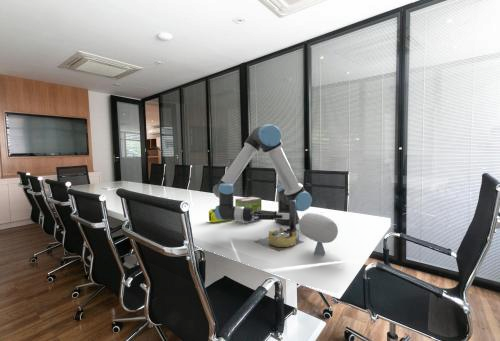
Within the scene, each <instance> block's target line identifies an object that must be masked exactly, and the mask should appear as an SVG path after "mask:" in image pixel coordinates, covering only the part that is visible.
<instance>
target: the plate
mask: <svg viewBox="0 0 500 341" xmlns="http://www.w3.org/2000/svg"><path fill="white" fill-rule="evenodd" d="M294 231H295V235H296V244H295V245H292V246H290V247H276V246H274V245H271V244H269V236H267V237H263V238H261V239H257V240H254V241H253V242H255V243H257V244H259V245H262V246H265V247H266V248H269V249H271V250H274V251H277V252H281V251H283V250H286V249H289V248H292V247H294V246H297V245H301V244H303V243H304V241H303V240H301V239H300V230H299V229H297V230H294ZM280 235H284V236H285V237H289V236H290V233H289V232H286V231H277V232H275V233H274V236H276V237H280Z"/></svg>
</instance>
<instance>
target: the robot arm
mask: <svg viewBox="0 0 500 341" xmlns="http://www.w3.org/2000/svg"><path fill="white" fill-rule="evenodd" d="M282 145H283V142H282V132H281V130H280V128H279V127H277V126H276V125H274V124H265V125H261V126H258V127H255V128H254V129H253V130H252V131H251V133H250V134H249V136H248V137H247V138H246V140H245V141H244V146H243V147H242V149H241V150H240V151H239V153H238V155H237V156H236V158H235V159H234V160H233V162H232V163H231V165H230V166H229V168H228V169H227V171H225V173H224V175H223V176H222V177H221V179H220V180H219V182H218V184H215V185H214V186H213V187H212V188H213V189H212V193H213V194H214V196H215V197H217V199H219V204H218V205H216V206H215V208H214V209H215V217H216V219H219V220H226V221H227V220H230V221H235V222H238V223H241V222H240V221H243V220H244V221H248V223H251V222H250V221H251V220H252V218H254V220H257V221H261V220H262V221H264V220H265V221H275V223H276V224H280V225H285V226H290V200H296V225H297V224H298V225H299V223H298V220H300V217H299V213H298V212H304V211H305V212H306V211H307V210H308V209H309V208H310V207H311V206H312V203H313V197H312V195H311V194H310V193H309V192H308V191H307V190H305V188H304V185H303V184H302V183H299V181H298V179H297V177H296V175H295V172H294V171H293V169H292V167H291V165H290V163H289V161H288V159H287V157H286V154H285V152H284V150H283V148H282ZM260 149H261V150H262V152H263V154H266V155H267V156H268V158H269V160H270V163H271V164H272V166H273V168H274V170H275V172H276V174H277V177H278V178H279V181H280V182H281V184H282V186H280V187H278V190H277V194H278V196H277V200H278V201H277V204H278V210H273V211H272V210H263V209H261V210H255V211H253V210H252V208H251V207H241V206H235V205H234V191H235V190H234V184H235V182H236V181H237V180H238V178H239V177H240V175H241V174H242V172H243V171H244V169H245V168H246V167H247V166H248V164H249V162H250V161H251V160H252V158H253V156H254V155H255V154H257V153H259V151H260Z"/></svg>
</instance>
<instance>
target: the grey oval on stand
mask: <svg viewBox="0 0 500 341" xmlns="http://www.w3.org/2000/svg"><path fill="white" fill-rule="evenodd" d="M298 228H299V229H298V230H299V233H301V235H303V236H304V237H306V238H308V239H310V240H312V241H314V242H316V245H315V248H314V251H313V254H314V255H317V256H325V255H326V251H325V247H324V245H323V244H327V243H332V242H333V241H335V240H336V238H337V236H338V233H339V229H338V225H337V223H335V221H334V220H332V218H329V217H327V216H325V215H322V214H319V213H315V212H314V213H313V212H311V213H310V212H307V213H305V214H303V215H302V216H301V218H299V220H298Z"/></svg>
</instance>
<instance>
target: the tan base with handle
mask: <svg viewBox="0 0 500 341" xmlns="http://www.w3.org/2000/svg"><path fill="white" fill-rule="evenodd" d="M294 230H298V227H297V224H296V200H290V225H289V228H286V229H284V227H279V229H275V230H269V231H268V237H269V244H271V245H274V246H276V247H289V248H291V247H290V246H292V245H295V244H296V235H295V231H294ZM277 231H286V232H289V233H290V236H289V237H285V236H284V235H280V237H276V236H274V233H275V232H277ZM295 246H296V245H295ZM292 247H293V246H292Z"/></svg>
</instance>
